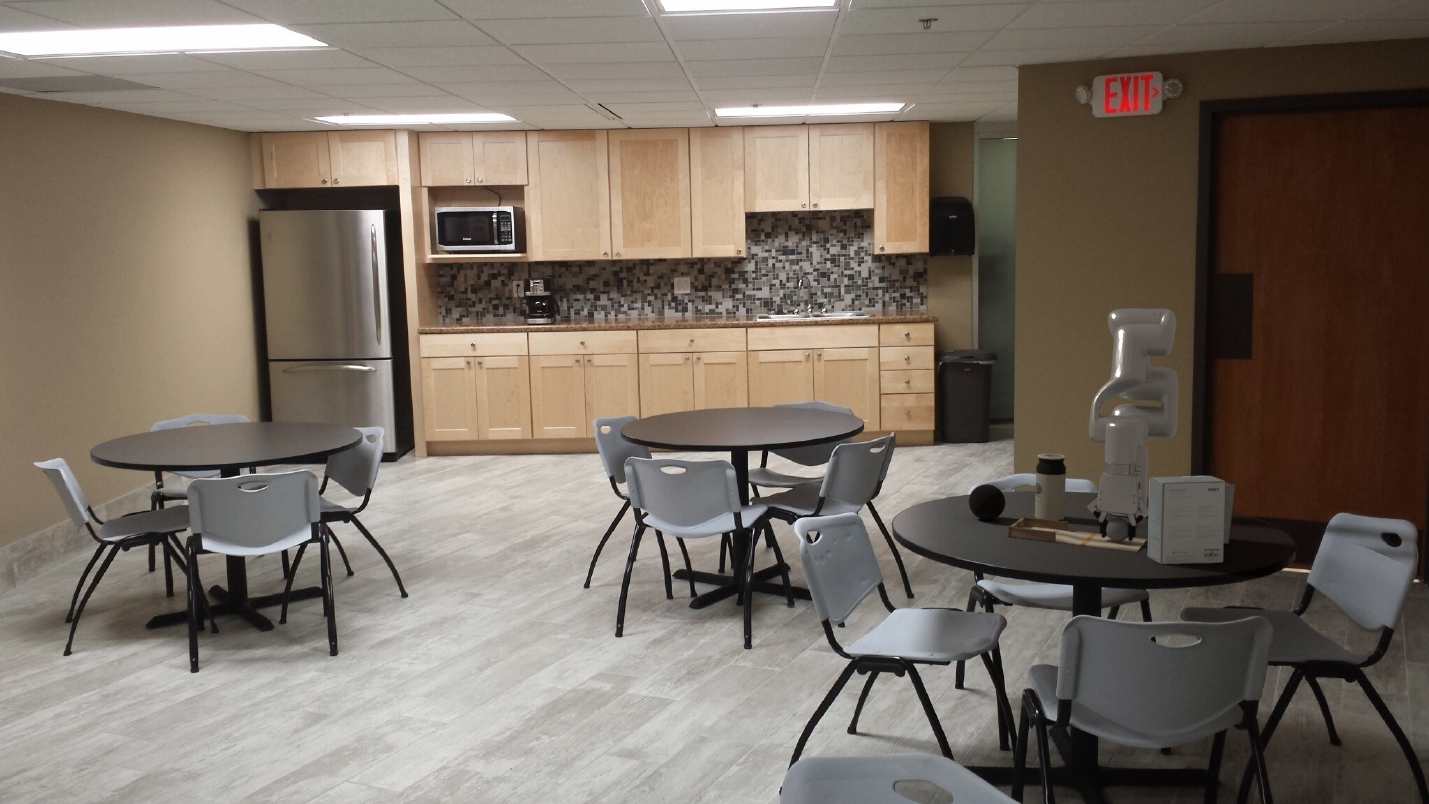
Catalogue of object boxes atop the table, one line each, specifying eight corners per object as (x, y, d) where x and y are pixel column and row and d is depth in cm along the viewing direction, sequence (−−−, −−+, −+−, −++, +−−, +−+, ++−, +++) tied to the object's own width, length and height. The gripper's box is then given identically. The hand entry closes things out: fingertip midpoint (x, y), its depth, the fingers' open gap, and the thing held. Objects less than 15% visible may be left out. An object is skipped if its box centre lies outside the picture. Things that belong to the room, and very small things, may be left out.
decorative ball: (996, 525, 295) (997, 489, 294) (962, 520, 301) (963, 485, 300) (1010, 518, 303) (1011, 483, 302) (977, 514, 309) (977, 480, 308)
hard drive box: (1208, 555, 263) (1212, 475, 260) (1224, 563, 255) (1228, 481, 253) (1145, 556, 262) (1149, 476, 260) (1159, 564, 254) (1163, 482, 252)
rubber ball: (1107, 536, 279) (1108, 514, 278) (1131, 539, 276) (1132, 516, 275) (1102, 542, 274) (1103, 519, 273) (1127, 545, 271) (1128, 522, 270)
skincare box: (1185, 538, 279) (1188, 478, 277) (1207, 536, 282) (1210, 476, 280) (1211, 546, 271) (1214, 484, 270) (1232, 543, 274) (1236, 482, 272)
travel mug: (1060, 515, 307) (1062, 453, 305) (1067, 521, 299) (1069, 458, 297) (1032, 515, 308) (1034, 453, 305) (1037, 521, 300) (1039, 457, 298)
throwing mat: (1022, 526, 294) (1023, 516, 294) (1146, 540, 278) (1147, 530, 277) (1008, 536, 282) (1008, 527, 282) (1137, 552, 266) (1137, 542, 266)
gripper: (1158, 469, 271) (1155, 539, 274) (1088, 463, 280) (1086, 531, 283) (1153, 474, 265) (1150, 545, 267) (1081, 468, 274) (1079, 537, 276)
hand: (1117, 537), depth 275 cm, fingers closed on rubber ball, 5 cm apart
